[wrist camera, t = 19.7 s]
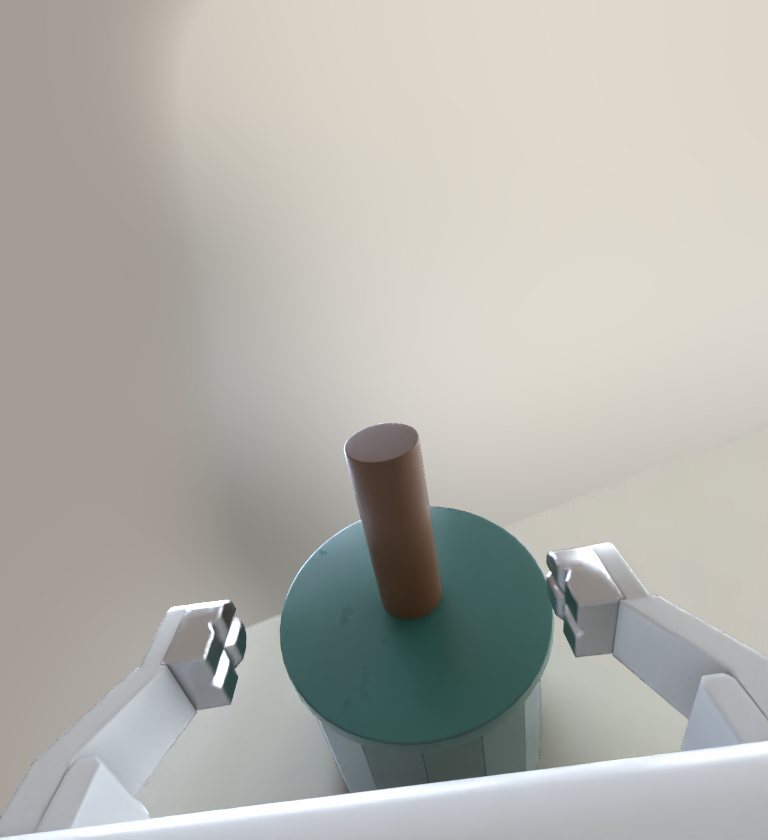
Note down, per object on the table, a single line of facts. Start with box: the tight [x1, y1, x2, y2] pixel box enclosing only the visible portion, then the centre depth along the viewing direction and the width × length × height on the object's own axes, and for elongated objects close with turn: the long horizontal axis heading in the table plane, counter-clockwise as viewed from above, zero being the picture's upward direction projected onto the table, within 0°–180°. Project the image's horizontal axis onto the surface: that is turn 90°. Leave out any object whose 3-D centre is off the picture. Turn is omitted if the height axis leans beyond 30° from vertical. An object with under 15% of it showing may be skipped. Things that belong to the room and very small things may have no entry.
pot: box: [316, 679, 541, 793], centre depth 20 cm, size 10×10×10 cm
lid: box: [280, 423, 554, 753], centre depth 16 cm, size 11×11×9 cm
